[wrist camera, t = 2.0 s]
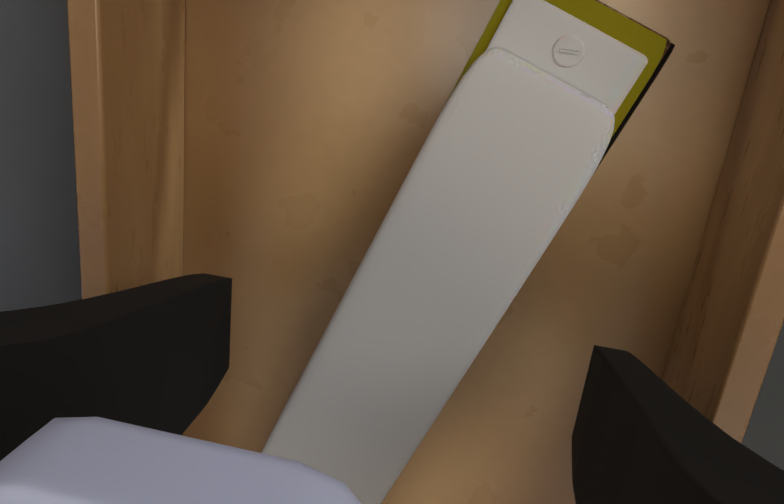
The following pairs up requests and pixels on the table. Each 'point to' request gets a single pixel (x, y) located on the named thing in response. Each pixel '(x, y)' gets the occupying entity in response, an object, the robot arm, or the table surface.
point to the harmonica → (466, 232)
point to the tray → (381, 185)
